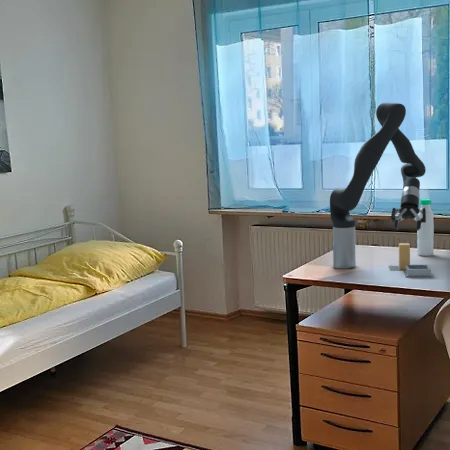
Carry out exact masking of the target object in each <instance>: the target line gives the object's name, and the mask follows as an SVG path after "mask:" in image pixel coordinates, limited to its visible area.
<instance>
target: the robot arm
mask: <svg viewBox="0 0 450 450" xmlns="http://www.w3.org/2000/svg"><path fill="white" fill-rule="evenodd" d="M375 110H376V111H375V115H376V119H377V121H378V122H379V124H380V126H381V128H380V129H379V130H378V131H377V132H376V133H375V134H374V135H371V136H370V138H368V139H367V140H365V142H364V143H363V144H362V146H361V147H360V149H359V150H358V152H357V153H356V156H355V159H354V163H353V164H354V165H353V168H354V169H353V175H352V178H351V179H350V181H349V183H348V185H347V186H346V187H337V188H334V189H333V190H332V192H330V193H331V194H330V197H329V210H330V212H329V213H330V214H329V215H330V220H331V223H332V256H333V257H332V261H333V262H332V263H333V264H332V265H333V269H334V268H335V269H343V270H344V269H345V270H347V269H353V268H355V267H356V263H357V262H356V261H357V260H356V258H357V257H356V220H355V219H354V217H353V216H352V215H351V214H350V211H353V210H354V209H356V208H357V206H358V205H359V203H360V201H361V198H362V195H363V193H364V192H365V191H364V190H365V188H366V185H367V183H369V180H370V178H371V177H372V174H373V172H374V170H375V169H376V167H377V165H378V164H379V162H380V160H381V158H382V156H383V154H384V152H385V151H386V149H387V146H388V145H389V144H390V142H391V143H392V145H393V147H394V149H395V151H396V153H397V157H398V160H399V161H400V162H401V163H402V164H403V165H402V166H401V167H400V175H401V176H402V182H403V184H402V185H403V186H402V192H401V199H400V208H395V207H392V211H391V216H390V221H391V223H394V229H395V231H398V230H399V225H400V223H399V222H401V221H403V220H404V219H405V220H413V219H414V221H416V231H419V229H421V223H425V222H426V209H425V208H423V209H421V208H420V209H421V210H420V209H419V206H420V200H421V199H420V187H421V183H420V179H418V178H420V177H423V176H424V175H425V174H426V171H427V170H426V165H425V164H424V162H423V161H422V160H421V158H420V157H419V156H418V154H416V152H415V149H414V147H413V145H412V143H411V141H410V139H409V138H408V137H407V136H406V135H405V134H404V132H402V130H401V129H400V126H401V125H402V124H403V122H404V120H405V117H406V115H407V114H406V113H407V110H406V106H405V105H404V104H402V103H400V102H399V103H398V102H389V101H385V102H382V103H379V104H378V105H377V107H376V109H375ZM419 213H421V214H422V215H423V218H420V217H419V216H418V214H419ZM396 215H397V216H396Z"/></svg>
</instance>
